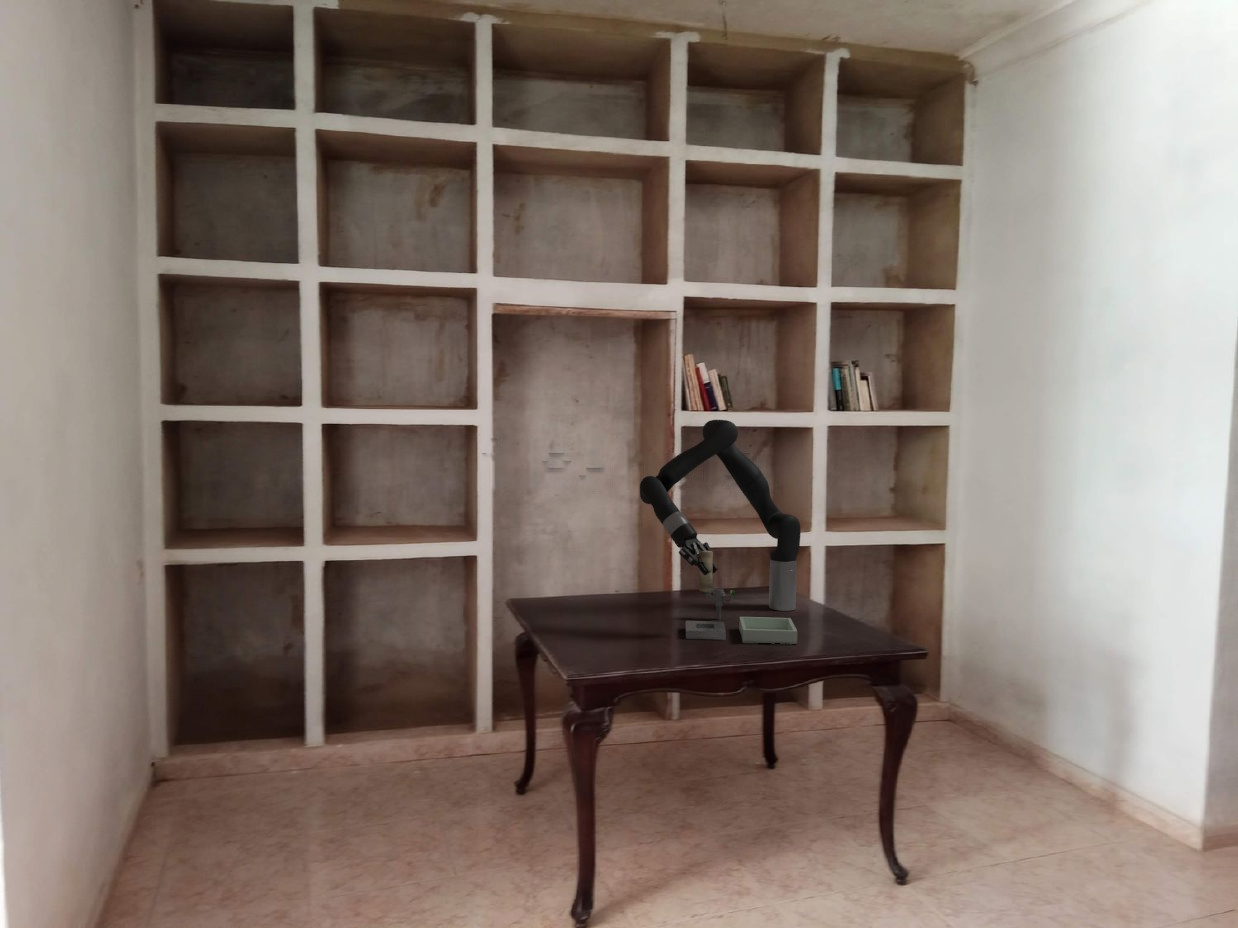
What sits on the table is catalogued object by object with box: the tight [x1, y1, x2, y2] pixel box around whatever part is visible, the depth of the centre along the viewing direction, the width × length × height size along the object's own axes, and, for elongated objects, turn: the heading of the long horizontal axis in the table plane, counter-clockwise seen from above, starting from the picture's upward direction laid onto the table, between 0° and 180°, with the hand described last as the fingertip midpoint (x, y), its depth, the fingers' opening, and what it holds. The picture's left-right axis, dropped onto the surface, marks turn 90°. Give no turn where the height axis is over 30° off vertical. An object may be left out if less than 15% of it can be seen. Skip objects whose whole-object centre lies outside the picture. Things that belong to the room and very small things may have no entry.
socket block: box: [685, 620, 727, 641], centre depth 264 cm, size 12×12×2 cm
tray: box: [738, 616, 798, 645], centre depth 261 cm, size 16×16×4 cm
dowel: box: [698, 550, 714, 592], centre depth 263 cm, size 4×4×12 cm
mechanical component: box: [702, 587, 736, 620], centre depth 282 cm, size 3×10×10 cm, turn 79°
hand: (711, 572), depth 261 cm, fingers closed on dowel, 4 cm apart
